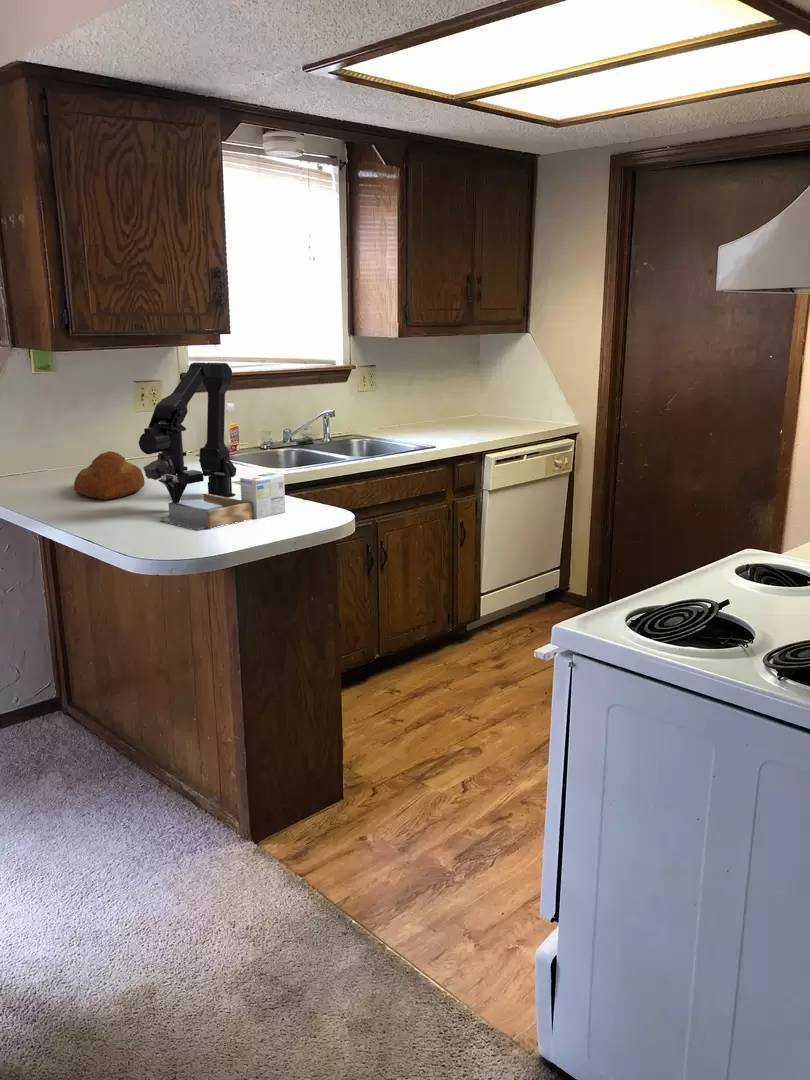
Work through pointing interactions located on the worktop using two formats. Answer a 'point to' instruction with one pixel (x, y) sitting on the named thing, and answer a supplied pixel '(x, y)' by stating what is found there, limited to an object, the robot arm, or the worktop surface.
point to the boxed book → (201, 504)
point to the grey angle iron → (187, 516)
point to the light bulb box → (264, 493)
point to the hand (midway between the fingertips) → (176, 504)
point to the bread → (109, 477)
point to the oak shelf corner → (227, 510)
